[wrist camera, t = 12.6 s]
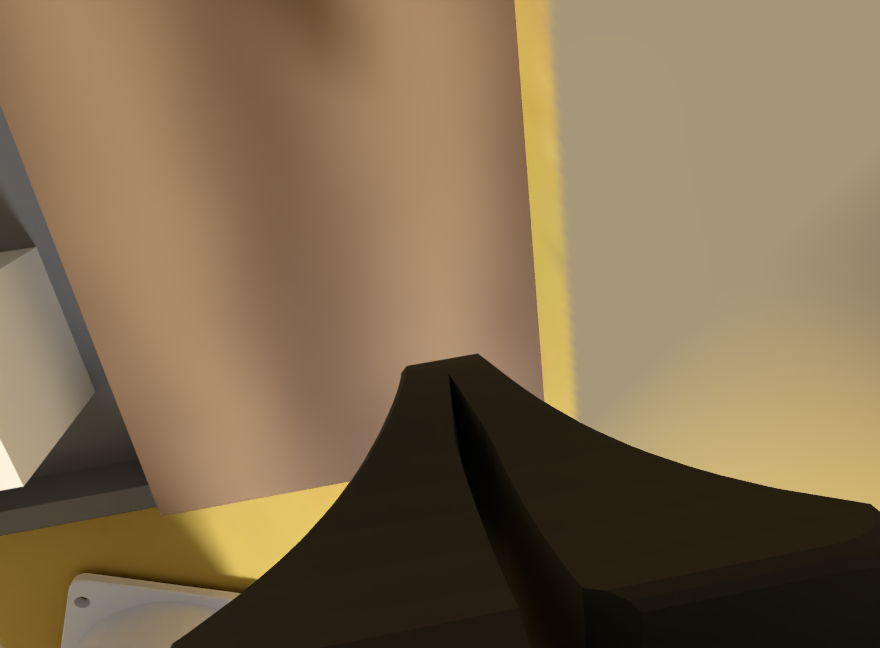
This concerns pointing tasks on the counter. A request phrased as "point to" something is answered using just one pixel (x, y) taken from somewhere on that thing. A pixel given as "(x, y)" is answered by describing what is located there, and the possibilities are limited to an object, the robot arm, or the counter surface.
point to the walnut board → (276, 216)
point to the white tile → (34, 368)
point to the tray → (100, 422)
